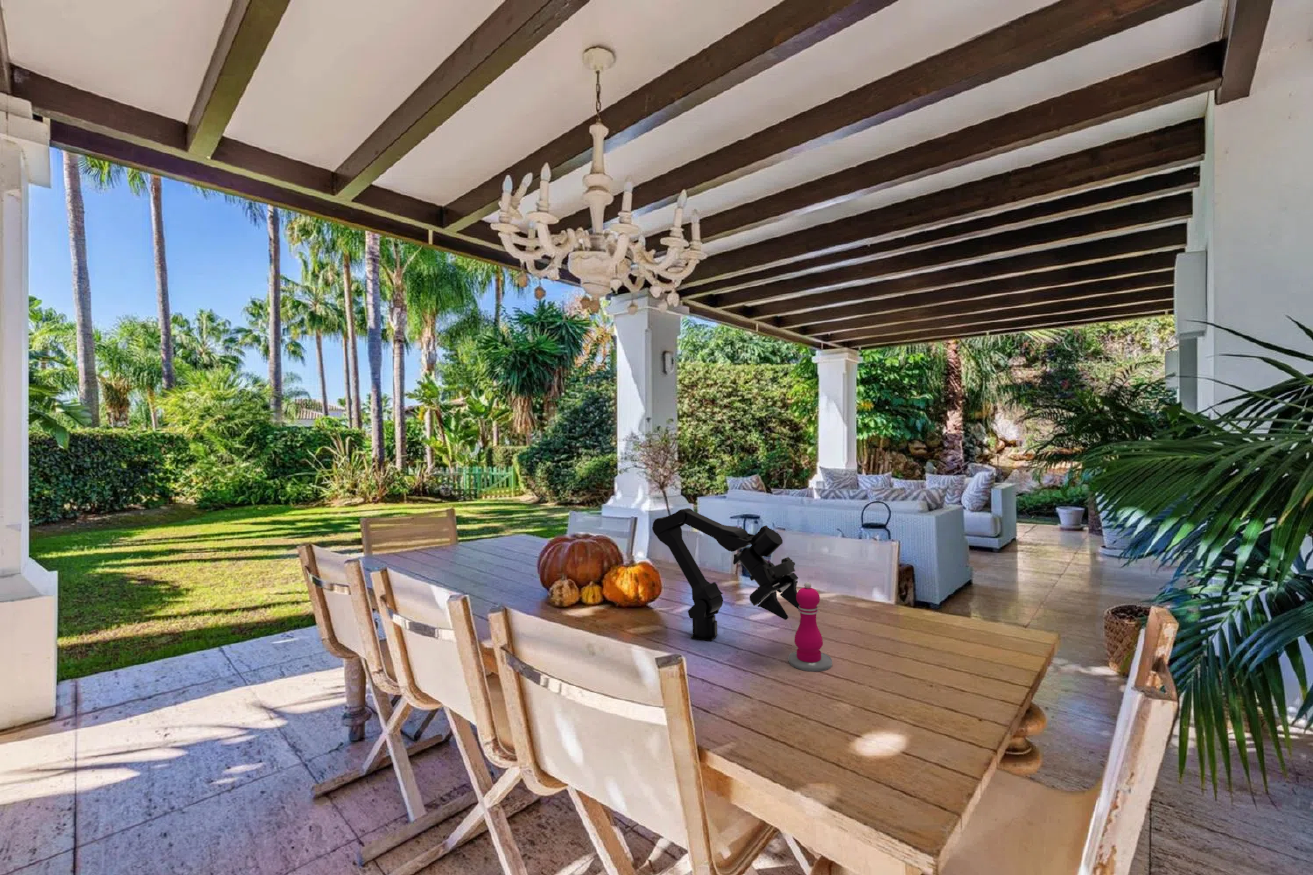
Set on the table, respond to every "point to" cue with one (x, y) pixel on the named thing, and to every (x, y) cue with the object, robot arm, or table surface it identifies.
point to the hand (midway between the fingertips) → (794, 614)
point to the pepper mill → (808, 625)
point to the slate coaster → (811, 663)
